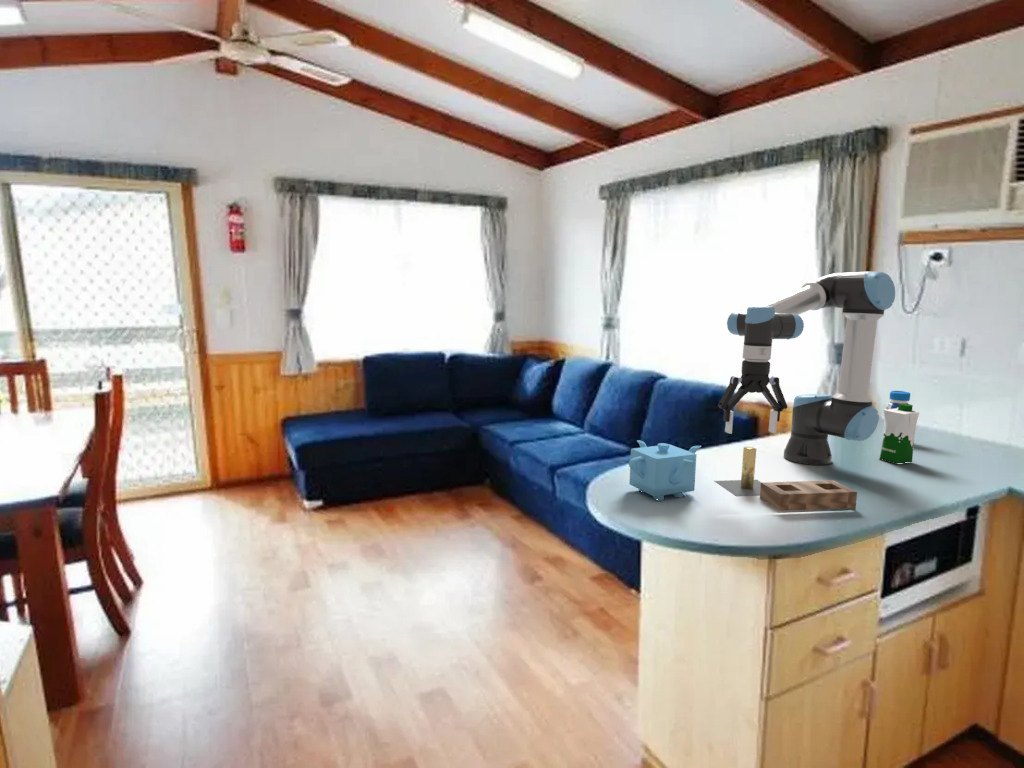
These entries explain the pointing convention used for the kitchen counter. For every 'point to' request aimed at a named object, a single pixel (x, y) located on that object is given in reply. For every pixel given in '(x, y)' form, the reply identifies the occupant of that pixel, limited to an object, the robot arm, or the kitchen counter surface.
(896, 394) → the beverage bottle
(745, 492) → the mat
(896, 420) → the milk carton
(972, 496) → the kitchen counter surface
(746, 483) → the peg
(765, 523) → the kitchen counter surface
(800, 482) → the hole block
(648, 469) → the teakettle
